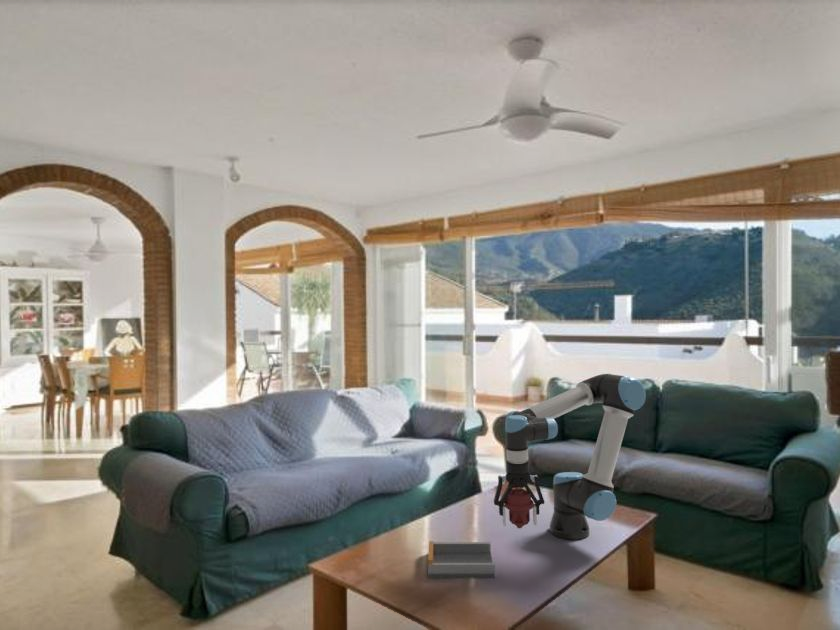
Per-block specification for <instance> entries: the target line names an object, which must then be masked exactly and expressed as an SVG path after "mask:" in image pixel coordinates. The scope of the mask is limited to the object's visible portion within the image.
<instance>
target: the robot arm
mask: <svg viewBox="0 0 840 630" xmlns="http://www.w3.org/2000/svg"><path fill="white" fill-rule="evenodd" d="M646 396H647V395H646V389H645V387H644V385H643V383H642V382H641V380H639V379H637V378H635V377H631V376H628V375H618V374H611V373H601V374H598V375H595V376H592V377H589V378H587V379H584V380H582V381H579V382H578V383H576V386H575V387H572V388H571V389H568V390H567V391H566V390H565V391H563V392H562V393H559V394H558V395H555V396H553V397H551V398H549V399H546V400H544V401H541V402H540V403H537V404H534V405H532V406H530V407H528V408H526V409H523V410H520V411H519V410H512V411H509V412H508V413H507V415H506V417H505V423H504V432H505V446H506V447H505V451H506V457H505V458H506V475H502V476H501V475H498V476H497V481H498V483H497V487H496V491H495V493H494V494H495V495H494V499H493V504H494V505H495V506H498V513H499V515H500V516H502V525H503V527H506V526H507V524H506V519H507V517H506V507H505V504H504V503H505V501H506V499H507V497H508V496H507V495H508V494H510V492H511V491H512V490H513V489H515V488H521V489H524V488H525V489H524V490H527V492H528V493H529V494H531V500H532V501H533V503H534V507H533V508H532V518H533V519H532V520H533V525H534V526H537V525H538V524H537V523H538V521H537V517H538V515H540V506H541V505H544V504H545V500H544V496H543V493H542V489H541V488H540V485H539V477H538V475H537V474H534V475H531V474H530V471H529V470H530V469H529V468H530V467H529V466H530V465H529V443H532V442H539V441H544V440H545V441H547V440H551V439H554V438H556V437H557V435H558V431H559V430H558V428H559V427H558V423H557V421H556V420H555V419H556V418H560V417H561V416H563V415H565V414H567V413H569V412H572V411H574V410H576V409H579V408H580V407H583V406H591V405H594V404H598V403H599V404H602V406H601V407H602V408H603V410H604V413H603V418H602V421H601V425H600V429H599V431H598V436H597V440H596V443H595V446H594V450H593V453H592V457H591V461H590V464H589V467H588V471H587V473H585V474H583V473H581V472H577V471H570V472H569V471H566V472H565V471H564V472H559V473H556V474H555V475H554V476H553V483H552V486H553V487H552V488H553V513H552V516H551V519H550V522H549V532H550V534H551V535H552V536H555V537H556V538H560V539H564V540H572V541H573V540H582V539H583V540H584V539H586V538H587V537H589V536H590V527H589V522H588V521H587V518H588V519H592V520H594V521H597V522H602V521H606V520H607V519H609V518H610V517H611V516H612V515H613V514H614V512H615V511H616V508H617V503H618V502H617V499H616V495H615V493H613V492H614V487H615V486H614V484H613V483H612V479H613V475H614V471H615V468H616V464H617V461H618V457H619V453H620V450H621V446H622V443H623V439H624V436H625V431H626V428H627V424H628V421H629V419H631V418H632V417H634V415H635V412H636V410H639V409H641V408H642V407H643V406H644V404H645V402H646ZM530 480H531V481H532V483H534V487H535V491H536V493H537V496H538V498H537V497H536V496H535V494H534V493H533V491H532V489H531V488H530V486H529V485H528V483H529V482H530ZM505 481H507V482H508V484H507V486H506V488H505V490H504V492H503V493H502V496H501V492H502V488H503V484H505ZM500 496H501V497H500Z"/></svg>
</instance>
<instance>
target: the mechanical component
mask: <svg viewBox="0 0 840 630" xmlns="http://www.w3.org/2000/svg"><path fill="white" fill-rule="evenodd" d="M507 496H508V497H507V499H506V501H505V503H504V505H505V509H507V510H508V515H509V517H508V518H509V519H508V520H509V522H510V523H511V524H513V525H514V526H515V527H516V528H517V529H522V528H523V527H524V526H526V525H528V524H529V523H530V520H531V518H530V510H533V507H534V504H535V503H534V501H533V500H532V498H531V494H529V493H528V492H527V490H526V489H524V488H513V489H512V491H511V492H510V494H508V495H507Z"/></svg>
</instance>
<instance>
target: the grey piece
mask: <svg viewBox="0 0 840 630" xmlns="http://www.w3.org/2000/svg"><path fill="white" fill-rule="evenodd" d="M428 542H429V543H428V555H427V556H428V557H427V564H428V566H427V570H428V571H427V572H428V573H427V576H428V577H427V579H495V578H496V574H495V573H496V569H495V568H496V567H495V566H496V564H495V562H493V557H492V553H491V552H492V551H491V541H475V542H474V541H447V542H446V541H433V540H430V541H428Z"/></svg>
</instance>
